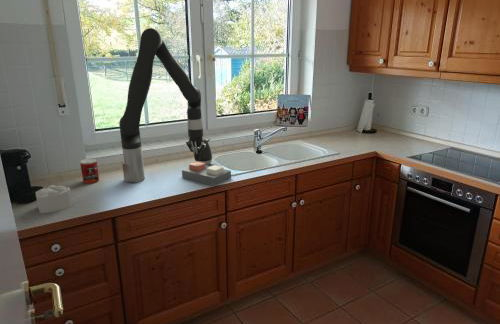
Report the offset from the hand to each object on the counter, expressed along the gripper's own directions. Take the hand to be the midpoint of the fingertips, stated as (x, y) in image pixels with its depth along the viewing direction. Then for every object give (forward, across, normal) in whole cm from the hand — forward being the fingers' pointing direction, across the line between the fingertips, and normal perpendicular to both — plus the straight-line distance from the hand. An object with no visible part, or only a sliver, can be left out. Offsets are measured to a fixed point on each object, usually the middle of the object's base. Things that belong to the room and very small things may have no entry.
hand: (197, 160), depth 191 cm
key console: (+8, +6, 0) cm, 10 cm away
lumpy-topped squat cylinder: (+8, -25, -63) cm, 68 cm away
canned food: (+8, -40, -36) cm, 55 cm away
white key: (+6, +12, 0) cm, 13 cm away
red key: (+6, 0, 0) cm, 6 cm away
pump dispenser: (+9, -10, +16) cm, 21 cm away
